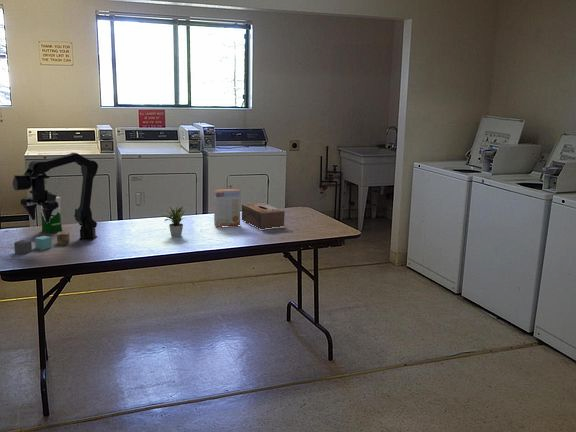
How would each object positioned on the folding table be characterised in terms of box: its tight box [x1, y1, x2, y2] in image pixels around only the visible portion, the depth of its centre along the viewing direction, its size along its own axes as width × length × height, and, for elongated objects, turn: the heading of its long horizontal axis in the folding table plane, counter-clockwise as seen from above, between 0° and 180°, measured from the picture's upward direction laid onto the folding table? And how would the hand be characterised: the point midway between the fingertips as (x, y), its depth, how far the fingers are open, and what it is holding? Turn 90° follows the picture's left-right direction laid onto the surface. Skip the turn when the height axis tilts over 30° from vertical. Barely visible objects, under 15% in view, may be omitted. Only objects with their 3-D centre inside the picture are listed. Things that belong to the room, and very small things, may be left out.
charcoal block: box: [13, 239, 33, 255], centre depth 249 cm, size 5×5×5 cm
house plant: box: [160, 205, 186, 238], centre depth 284 cm, size 14×14×16 cm
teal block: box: [34, 235, 53, 251], centre depth 257 cm, size 5×5×5 cm
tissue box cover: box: [241, 202, 285, 229], centre depth 316 cm, size 26×14×10 cm, turn 30°
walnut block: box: [56, 231, 71, 245], centre depth 266 cm, size 5×5×5 cm
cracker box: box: [213, 188, 241, 228], centre depth 308 cm, size 14×6×21 cm, turn 111°
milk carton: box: [40, 191, 63, 234], centre depth 285 cm, size 9×9×20 cm
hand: (40, 221), depth 257 cm, fingers open, 9 cm apart
